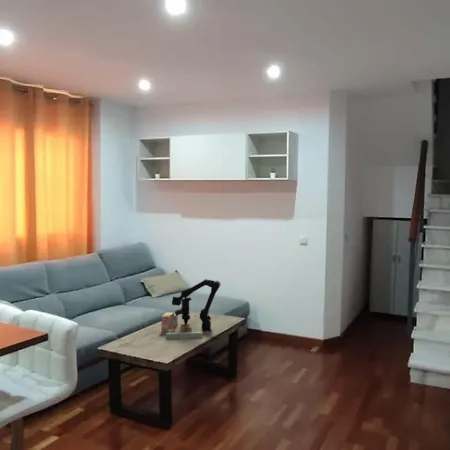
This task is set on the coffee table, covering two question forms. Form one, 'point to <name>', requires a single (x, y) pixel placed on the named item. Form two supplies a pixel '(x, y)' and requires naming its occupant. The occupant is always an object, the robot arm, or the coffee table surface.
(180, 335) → the board
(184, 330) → the walnut brick
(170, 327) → the stack of blocks
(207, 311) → the robot arm
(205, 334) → the coffee table surface
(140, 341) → the coffee table surface
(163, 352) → the coffee table surface
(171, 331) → the oak cube
